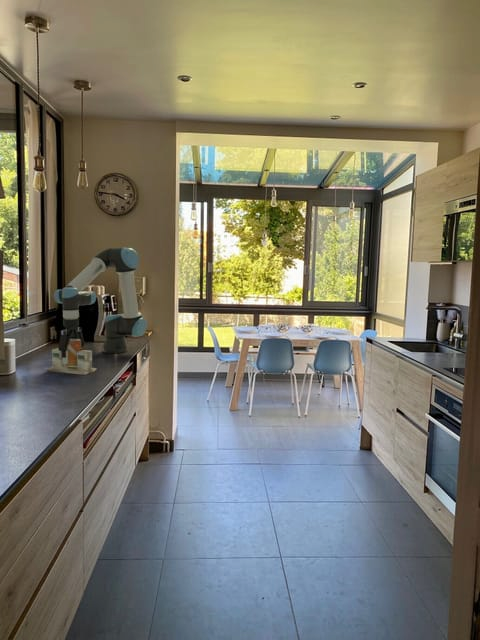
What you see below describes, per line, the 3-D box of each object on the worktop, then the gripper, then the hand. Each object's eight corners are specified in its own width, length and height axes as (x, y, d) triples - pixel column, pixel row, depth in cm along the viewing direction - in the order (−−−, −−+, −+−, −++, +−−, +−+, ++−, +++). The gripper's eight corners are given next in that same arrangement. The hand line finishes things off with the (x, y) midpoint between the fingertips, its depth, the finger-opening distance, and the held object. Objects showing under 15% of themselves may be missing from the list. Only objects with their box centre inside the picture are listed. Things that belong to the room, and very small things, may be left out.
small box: (65, 366, 220) (64, 341, 219) (62, 364, 225) (61, 339, 224) (82, 365, 225) (81, 340, 223) (79, 362, 230) (78, 338, 228)
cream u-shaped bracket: (61, 366, 233) (60, 347, 232) (96, 370, 227) (96, 350, 226) (47, 370, 224) (46, 350, 222) (84, 374, 217) (84, 353, 216)
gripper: (78, 315, 234) (80, 356, 237) (49, 320, 212) (50, 365, 215) (91, 316, 232) (92, 357, 234) (62, 321, 210) (63, 366, 213)
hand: (72, 361), depth 225 cm, fingers closed on small box, 10 cm apart
